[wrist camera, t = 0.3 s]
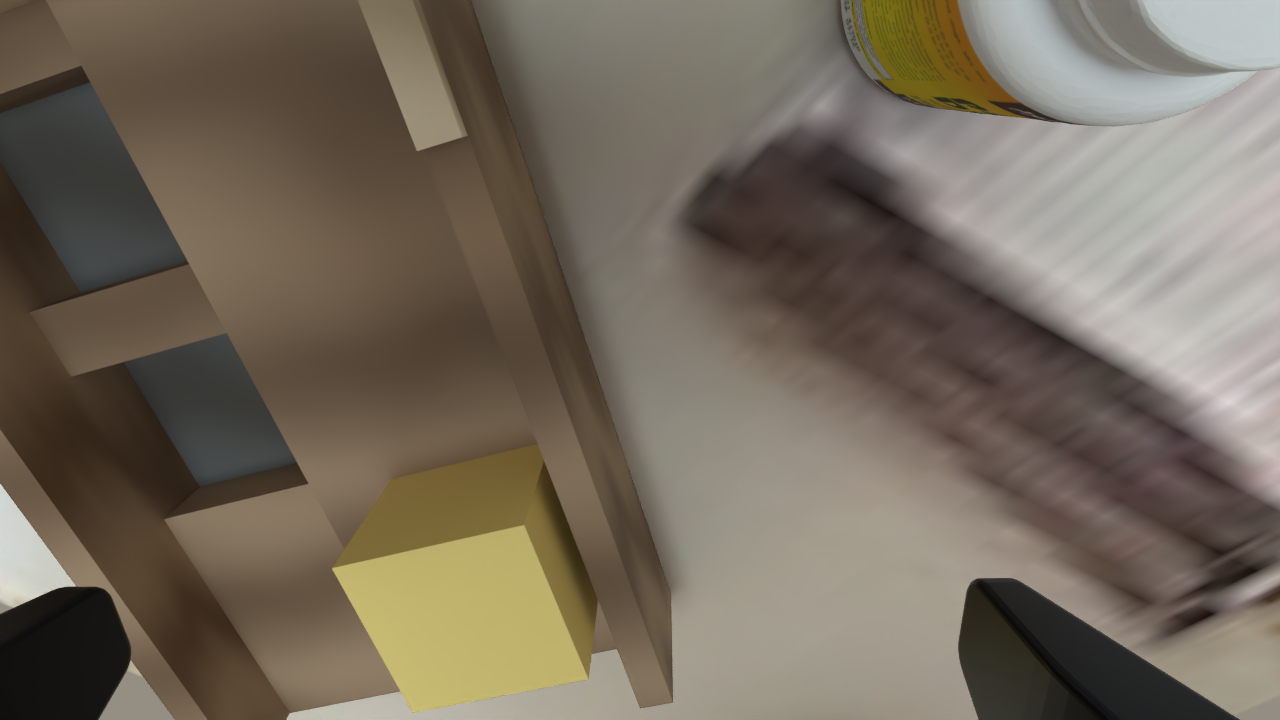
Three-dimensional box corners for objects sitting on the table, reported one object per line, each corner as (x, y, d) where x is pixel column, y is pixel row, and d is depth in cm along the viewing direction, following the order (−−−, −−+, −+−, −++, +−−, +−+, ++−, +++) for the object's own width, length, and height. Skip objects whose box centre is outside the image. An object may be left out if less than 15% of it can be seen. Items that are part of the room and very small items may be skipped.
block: (601, 576, 22) (588, 679, 18) (454, 607, 22) (412, 712, 19) (549, 441, 20) (524, 525, 16) (391, 479, 20) (331, 568, 17)
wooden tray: (671, 595, 24) (673, 714, 20) (292, 672, 26) (215, 796, 22) (416, -161, 16) (319, -254, 11) (-109, 35, 18) (-368, 22, 13)
